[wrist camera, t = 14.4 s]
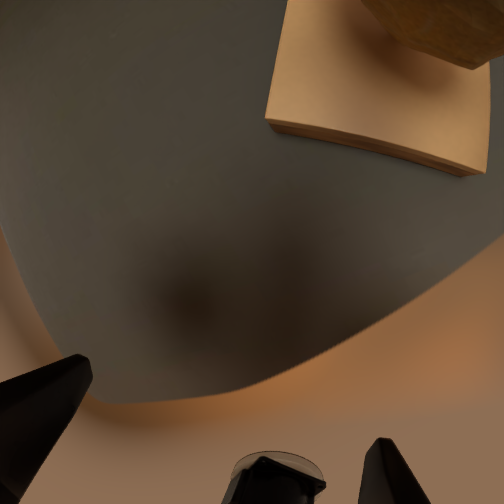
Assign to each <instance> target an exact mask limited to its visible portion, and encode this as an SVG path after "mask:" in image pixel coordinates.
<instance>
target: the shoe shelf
mask: <svg viewBox="0 0 504 504" xmlns="http://www.w3.org/2000/svg"><path fill="white" fill-rule="evenodd" d="M265 119H266V120H267V121H268V123H269V124H270V126H271V127H272V128H273V130H274V131H275V132H278V133H284V134H290V135H296V136H302V137H308V138H313V139H318V140H323V141H328V142H333V143H338V144H343V145H347V146H352V147H356V148H361V149H365V150H369V151H373V152H377V153H381V154H385V155H389V156H393V157H397V158H400V159H404V160H408V161H411V162H415V163H418V164H422V165H425V166H428V167H432V168H435V169H438V170H441V171H444V172H448V173H451V174H454V175H457V176H460V177H464V176H470V175H476V174H483V173H486V166H487V156H488V144H489V129H490V68H489V61H488V62H487V63H485V64H484V65H482V66H480V67H479V68H477V69H475V70H470V69H466V68H463V67H459V66H457V65H454V64H452V63H449V62H447V61H444V60H441V59H439V58H436V57H433V56H431V55H429V54H426V53H423V52H419V51H416V50H413V49H410V48H408V47H407V46H405V47H404V46H402V45H401V44H400V43H398V42H397V41H396V40H395V39H394V37H393V36H391V35H390V34H389V33H388V32H387V31H386V30H385V29H384V28H383V26H382V25H381V24H380V22H379V21H378V20H377V19H376V18H375V17H374V15H373V14H372V12H370V11H369V10H368V9H367V8H366V7H365V6H364V5H363V3H362V2H361V0H288V2H287V7H286V12H285V17H284V22H283V27H282V32H281V37H280V42H279V47H278V52H277V57H276V62H275V67H274V72H273V77H272V82H271V87H270V92H269V98H268V103H267V108H266V113H265Z"/></svg>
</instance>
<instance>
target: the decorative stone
mask: <svg viewBox="0 0 504 504" xmlns="http://www.w3.org/2000/svg"><path fill="white" fill-rule="evenodd" d="M361 2H362V3H363V5H364V6H365V7H366V8H367V9H368V10H369V11H370V12H372V14H373V15H374V17H375V18H376V19H377V20H378V21H379V22H380V24H381V25H382V26H383V28H384V29H385V30H386V31H387V32H388V33H389V34H390V35H391V36H393V37H394V39H395V40H396V41H397V42H398V43H400V44H401V45H402V46H404V47H405V46H407V47H408V48H410V49H413V50H416V51H419V52H423V53H426V54H429V55H431V56H433V57H436V58H439V59H441V60H444V61H447V62H449V63H452V64H454V65H457V66H459V67H463V68H466V69H470V70H475V69H477V68H479V67H480V66H482V65H484V64H485V63H487V62H488V61H489V60H491V59H493V58H496V57H499V56H502V55H504V0H361Z"/></svg>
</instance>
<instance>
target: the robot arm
mask: <svg viewBox="0 0 504 504" xmlns="http://www.w3.org/2000/svg"><path fill="white" fill-rule="evenodd" d="M92 379H93V374H92V370H91V366H90V361H89V359H88V358H87V357H85V356H83V355H81V354H74V355H72V356H69V357H67V358H64V359H62V360H59V361H57V362H54V363H51V364H49V365H46V366H43V367H41V368H38V369H36V370H33V371H31V372H28V373H25V374H22V375H20V376H17V377H14V378H12V379H9V380H6V381H3V382H1V383H0V504H19V502H20V499H21V498H22V497H23V495H24V493H25V492H26V490H27V488H28V487H29V485H30V483H31V482H32V480H33V479H34V477H35V475H36V474H37V472H38V470H39V469H40V467H41V465H42V464H43V463H44V461H45V459H46V458H47V456H48V455H49V453H50V452H51V450H52V448H53V447H54V445H55V444H56V442H57V441H58V439H59V438H60V436H61V435H62V433H63V432H64V430H65V429H66V427H67V426H68V424H69V423H70V421H71V420H72V418H73V416H74V414H75V413H76V411H77V409H78V407H79V405H80V403H81V401H82V399H83V397H84V395H85V394H86V392H87V390H88V388H89V386H90V384H91V382H92ZM262 461H264V462H262ZM325 488H326V482H325V481H323V480H320V479H318V478H315V477H313V476H310V475H308V474H305V473H303V472H300V471H298V470H295V469H293V468H291V467H288V466H286V465H284V464H282V463H279V462H277V461H275V460H273V459H271V458H268V457H266V456H260V457H259V458H258V459H257V460H256V461H255V462H254V463H253V464H252V465H251V466H250V467H249V468H248V469H246V468H245V469H242V470H241V471H240V472H239V473H238V474H237V475H236V476H235V477H234V478H233V479H232V480H231V481H230V484H229V486H228V489H227V491H226V493H225V496H224V498H223V501H222V503H221V504H314V499H315V496H316V495H317V494H319V493H320V492H321V491H323V490H324V489H325ZM358 504H431V503H430V501H429V499H428V498H427V496H426V494H425V493H424V491H423V490H422V488H421V486H420V484H419V483H418V481H417V479H416V478H415V476H414V475H413V473H412V471H411V470H410V468H409V466H408V465H407V463H406V461H405V460H404V458H403V457H402V455H401V453H400V452H399V450H398V449H397V447H396V445H395V444H394V442H393V440H392V439H390V438H378V439H376V441H375V442H374V443H373V445H372V446H371V447H370V449H369V450H368V452H367V453H366V456H365V461H364V468H363V474H362V481H361V487H360V492H359V499H358Z"/></svg>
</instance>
